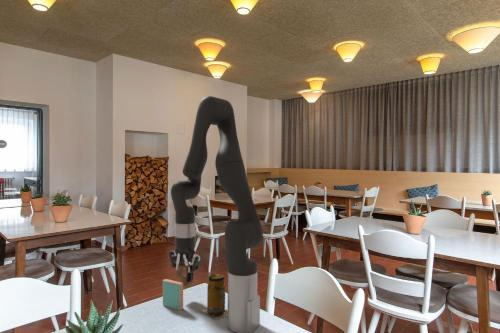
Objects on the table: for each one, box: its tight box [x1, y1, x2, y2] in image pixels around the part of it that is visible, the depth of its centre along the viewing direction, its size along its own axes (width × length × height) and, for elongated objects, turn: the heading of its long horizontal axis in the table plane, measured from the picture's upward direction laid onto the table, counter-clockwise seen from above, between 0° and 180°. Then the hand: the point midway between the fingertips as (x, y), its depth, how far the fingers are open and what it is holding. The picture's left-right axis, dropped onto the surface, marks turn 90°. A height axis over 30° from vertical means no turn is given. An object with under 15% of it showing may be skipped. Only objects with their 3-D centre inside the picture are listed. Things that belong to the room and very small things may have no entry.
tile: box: [162, 278, 184, 311], centre depth 114 cm, size 8×2×9 cm, turn 63°
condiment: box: [201, 273, 228, 320], centre depth 110 cm, size 7×8×12 cm
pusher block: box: [176, 263, 194, 287], centre depth 120 cm, size 4×4×7 cm
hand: (184, 280), depth 120 cm, fingers closed on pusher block, 4 cm apart
